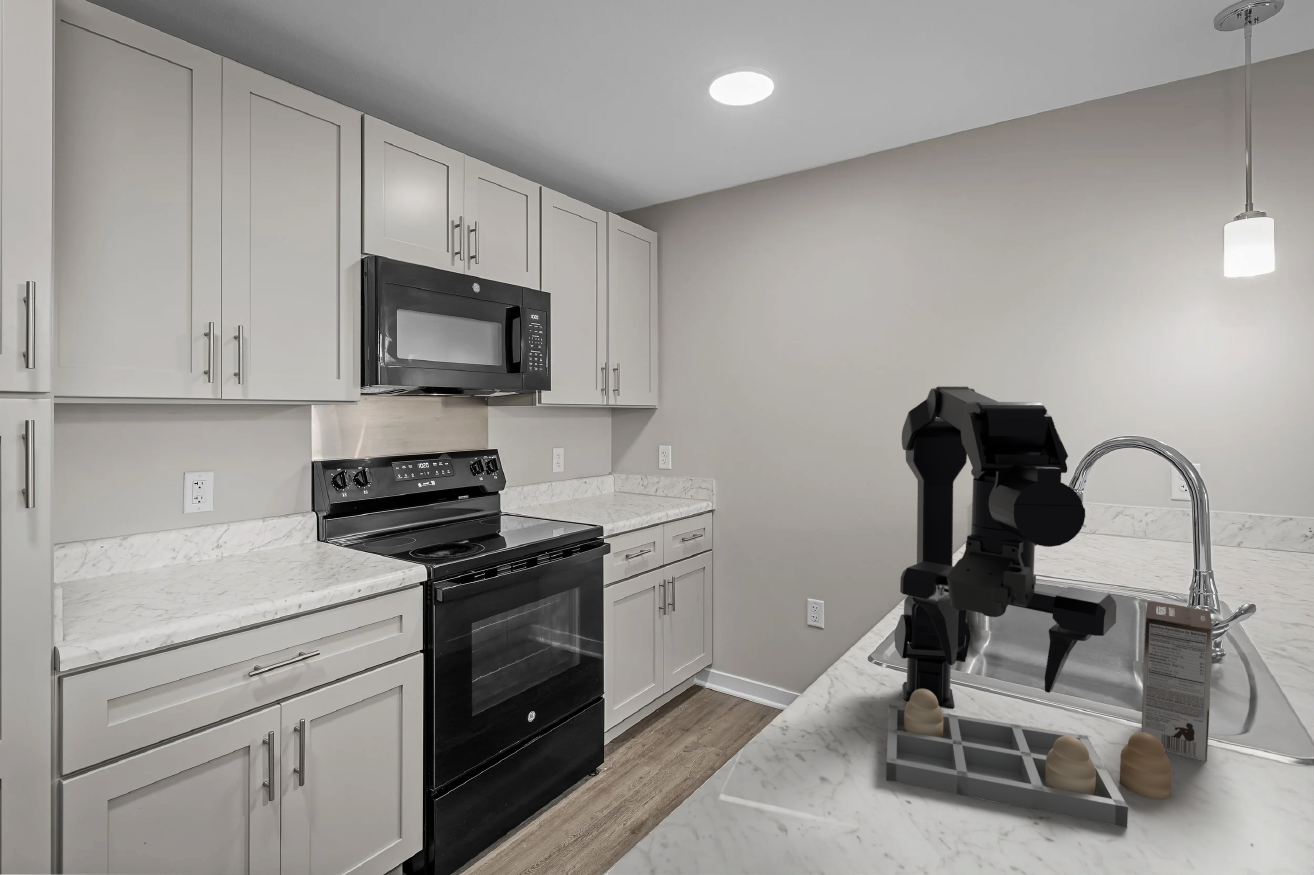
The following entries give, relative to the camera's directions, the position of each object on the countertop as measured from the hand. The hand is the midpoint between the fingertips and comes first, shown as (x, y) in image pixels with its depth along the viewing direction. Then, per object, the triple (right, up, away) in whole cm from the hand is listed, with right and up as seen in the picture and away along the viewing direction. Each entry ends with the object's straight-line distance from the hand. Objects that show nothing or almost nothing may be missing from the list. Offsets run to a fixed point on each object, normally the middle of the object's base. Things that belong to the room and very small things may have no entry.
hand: (997, 676), depth 67 cm
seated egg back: (-2, -13, +13) cm, 18 cm away
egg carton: (+3, -13, +7) cm, 15 cm away
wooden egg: (+18, -13, +3) cm, 22 cm away
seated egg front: (+8, -13, +2) cm, 15 cm away
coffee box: (+29, -13, +14) cm, 35 cm away
